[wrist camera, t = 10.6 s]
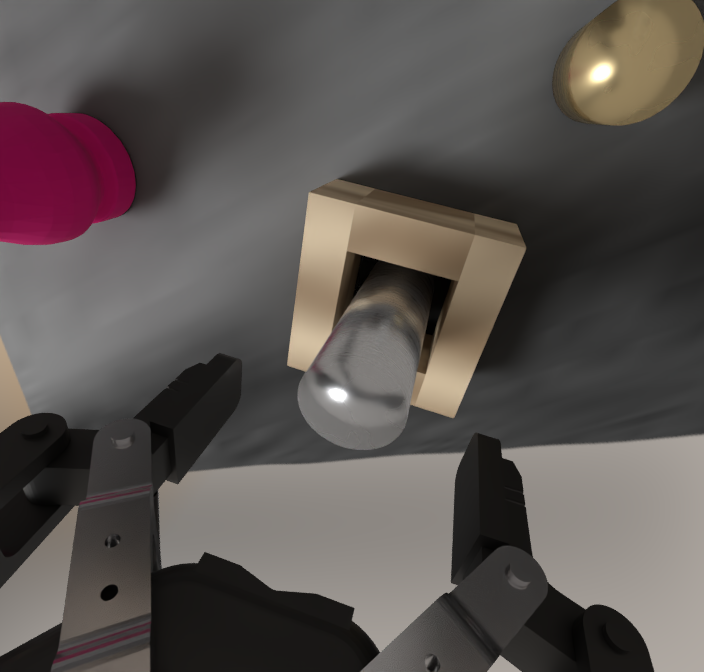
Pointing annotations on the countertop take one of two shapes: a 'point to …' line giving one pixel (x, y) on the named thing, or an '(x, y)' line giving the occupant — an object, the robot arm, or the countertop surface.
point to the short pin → (629, 61)
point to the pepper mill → (58, 175)
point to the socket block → (412, 252)
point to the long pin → (370, 361)
